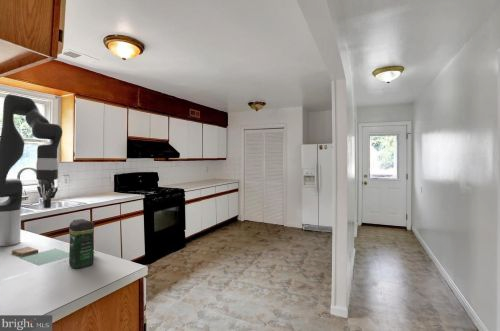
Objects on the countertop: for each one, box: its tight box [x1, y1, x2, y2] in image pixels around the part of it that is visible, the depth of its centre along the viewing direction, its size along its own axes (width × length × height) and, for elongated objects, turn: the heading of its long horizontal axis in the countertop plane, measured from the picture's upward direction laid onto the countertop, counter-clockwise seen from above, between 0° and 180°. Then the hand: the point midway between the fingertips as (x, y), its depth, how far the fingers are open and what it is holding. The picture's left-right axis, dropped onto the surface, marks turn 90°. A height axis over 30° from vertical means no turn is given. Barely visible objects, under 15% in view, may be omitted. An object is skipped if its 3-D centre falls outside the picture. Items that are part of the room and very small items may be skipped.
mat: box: [19, 248, 69, 266], centre depth 116 cm, size 17×14×1 cm
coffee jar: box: [68, 218, 95, 269], centre depth 109 cm, size 10×8×19 cm
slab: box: [11, 246, 39, 257], centre depth 119 cm, size 2×6×9 cm
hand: (47, 207), depth 116 cm, fingers closed
